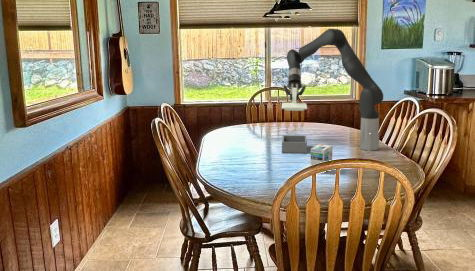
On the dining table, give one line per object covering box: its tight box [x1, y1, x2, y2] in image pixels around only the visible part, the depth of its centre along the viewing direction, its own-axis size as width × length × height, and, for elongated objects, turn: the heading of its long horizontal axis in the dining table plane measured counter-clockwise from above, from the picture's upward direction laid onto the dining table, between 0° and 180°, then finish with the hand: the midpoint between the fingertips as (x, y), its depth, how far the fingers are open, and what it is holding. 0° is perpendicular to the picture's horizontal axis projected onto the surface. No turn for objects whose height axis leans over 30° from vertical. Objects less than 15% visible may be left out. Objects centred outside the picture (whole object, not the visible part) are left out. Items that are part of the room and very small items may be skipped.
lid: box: [281, 88, 308, 112], centre depth 247 cm, size 19×14×11 cm
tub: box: [281, 134, 308, 155], centre depth 235 cm, size 18×13×6 cm
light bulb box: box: [309, 143, 333, 174], centre depth 195 cm, size 11×7×11 cm, turn 148°
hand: (294, 100), depth 252 cm, fingers closed on lid, 2 cm apart
